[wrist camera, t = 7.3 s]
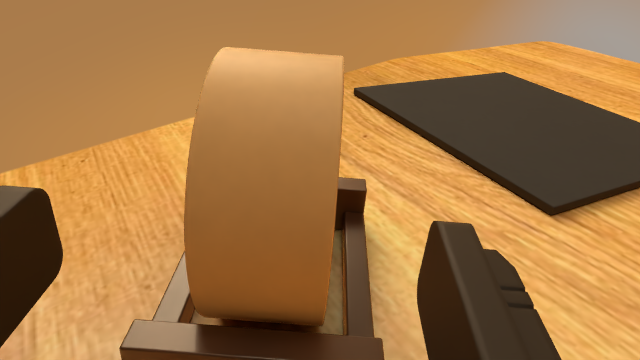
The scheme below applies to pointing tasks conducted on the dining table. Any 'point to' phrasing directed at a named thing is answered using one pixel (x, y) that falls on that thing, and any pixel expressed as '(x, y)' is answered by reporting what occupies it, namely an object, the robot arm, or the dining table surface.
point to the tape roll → (264, 186)
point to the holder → (263, 344)
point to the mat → (521, 135)
